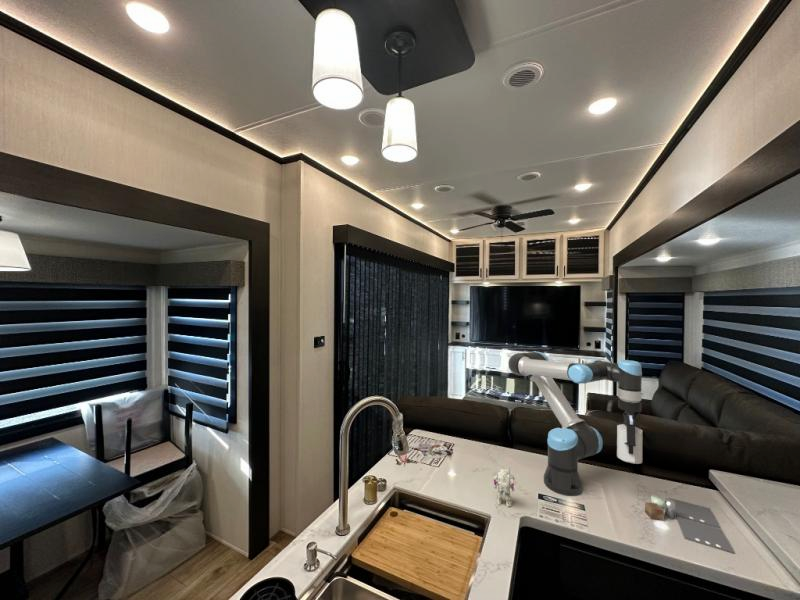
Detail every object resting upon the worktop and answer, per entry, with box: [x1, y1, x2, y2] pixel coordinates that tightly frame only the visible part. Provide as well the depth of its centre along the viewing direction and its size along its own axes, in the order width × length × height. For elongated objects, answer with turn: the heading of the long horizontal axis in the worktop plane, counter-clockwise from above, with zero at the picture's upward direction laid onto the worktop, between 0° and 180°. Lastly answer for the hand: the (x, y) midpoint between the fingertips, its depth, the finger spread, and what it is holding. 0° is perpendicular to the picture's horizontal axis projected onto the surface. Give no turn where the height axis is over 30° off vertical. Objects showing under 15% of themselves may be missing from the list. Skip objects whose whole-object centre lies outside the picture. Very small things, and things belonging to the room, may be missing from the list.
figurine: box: [493, 465, 515, 508], centre depth 124 cm, size 8×8×15 cm
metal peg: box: [664, 497, 676, 520], centre depth 117 cm, size 3×3×6 cm
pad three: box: [676, 516, 735, 554], centre depth 108 cm, size 12×12×1 cm
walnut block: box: [644, 501, 665, 522], centre depth 117 cm, size 4×4×4 cm
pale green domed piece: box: [650, 495, 665, 510], centre depth 123 cm, size 4×4×3 cm
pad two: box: [669, 497, 721, 529], centre depth 119 cm, size 12×12×1 cm
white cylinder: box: [616, 423, 644, 465], centre depth 124 cm, size 8×8×12 cm
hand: (629, 456), depth 124 cm, fingers closed on white cylinder, 8 cm apart
